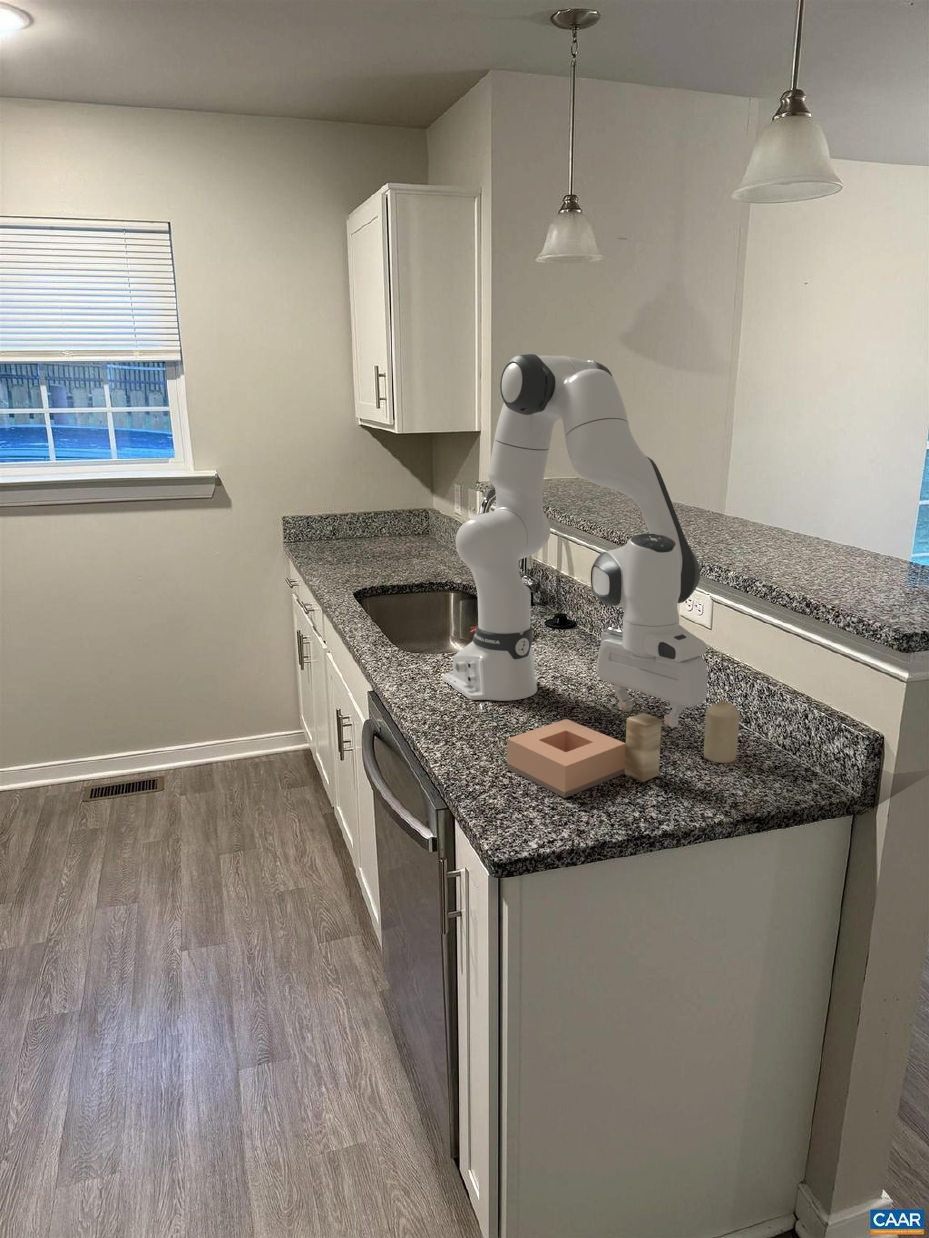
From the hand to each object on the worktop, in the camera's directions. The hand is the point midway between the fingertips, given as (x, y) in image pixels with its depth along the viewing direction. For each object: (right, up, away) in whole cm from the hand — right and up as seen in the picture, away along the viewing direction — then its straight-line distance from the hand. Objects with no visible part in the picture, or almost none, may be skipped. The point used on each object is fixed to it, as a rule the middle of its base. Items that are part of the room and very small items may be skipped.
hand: (647, 717), depth 138 cm
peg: (0, -10, +3) cm, 10 cm away
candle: (+15, -8, +9) cm, 19 cm away
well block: (-13, -10, +4) cm, 17 cm away
